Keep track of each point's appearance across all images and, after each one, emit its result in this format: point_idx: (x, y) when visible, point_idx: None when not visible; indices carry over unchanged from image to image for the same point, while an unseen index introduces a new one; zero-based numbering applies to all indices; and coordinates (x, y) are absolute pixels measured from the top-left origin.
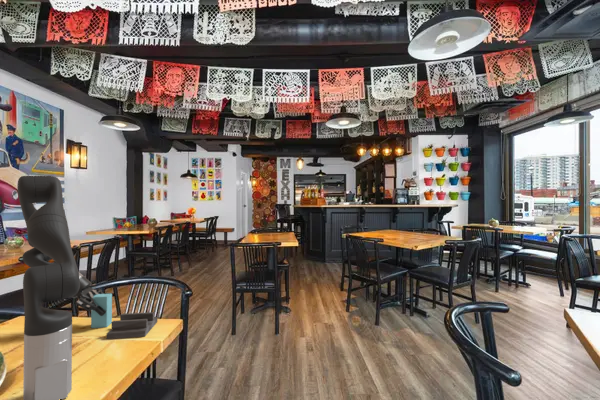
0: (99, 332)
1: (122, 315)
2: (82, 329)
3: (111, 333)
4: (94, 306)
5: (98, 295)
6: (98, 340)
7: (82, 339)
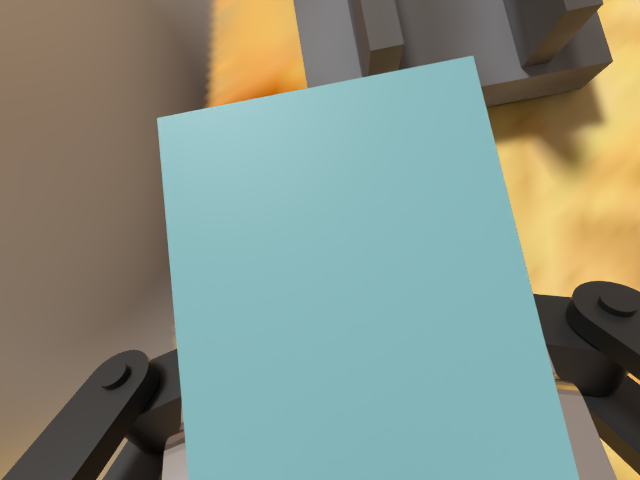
0: None
1: (398, 30)
2: None
3: (600, 29)
4: (594, 282)
5: (369, 434)
6: (595, 139)
7: (594, 270)
